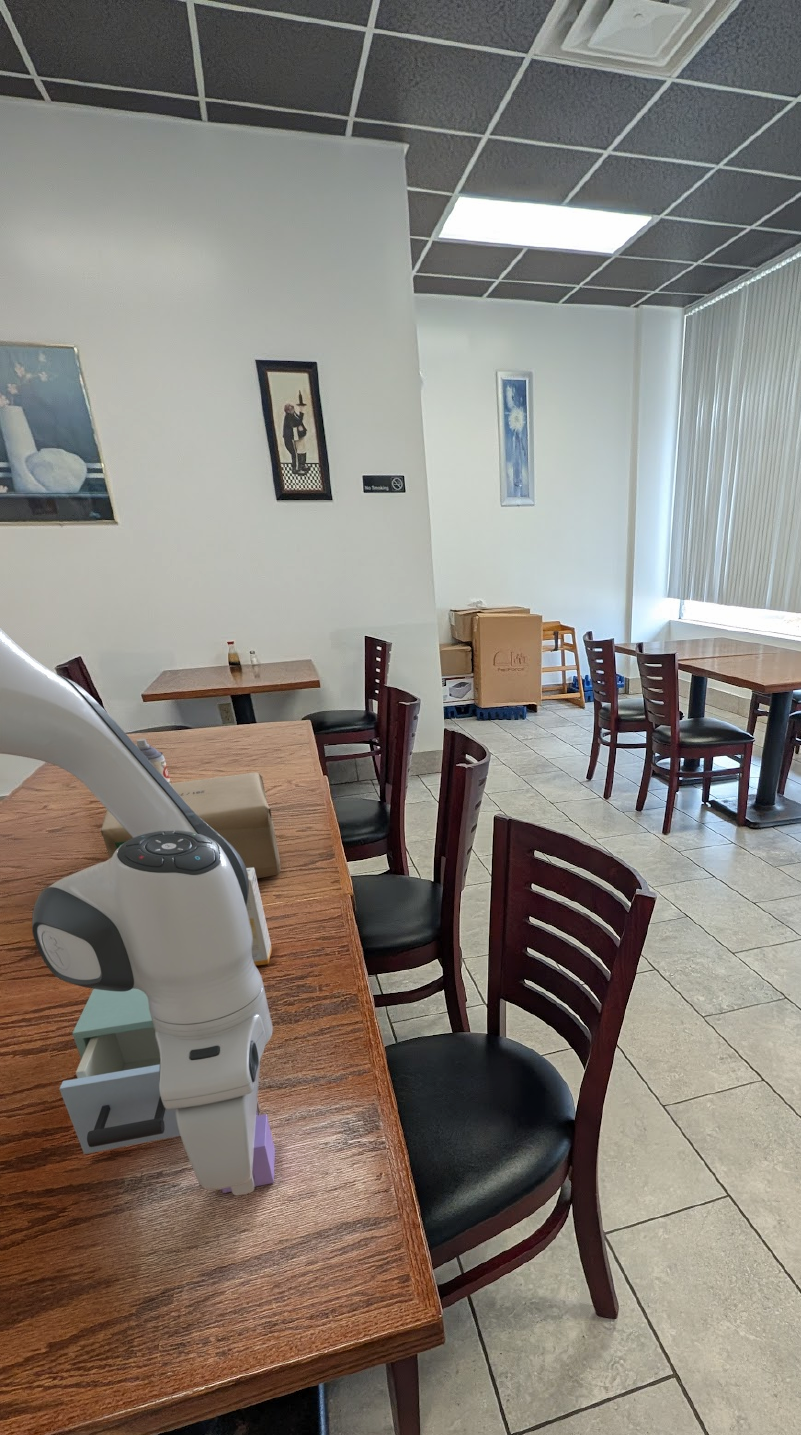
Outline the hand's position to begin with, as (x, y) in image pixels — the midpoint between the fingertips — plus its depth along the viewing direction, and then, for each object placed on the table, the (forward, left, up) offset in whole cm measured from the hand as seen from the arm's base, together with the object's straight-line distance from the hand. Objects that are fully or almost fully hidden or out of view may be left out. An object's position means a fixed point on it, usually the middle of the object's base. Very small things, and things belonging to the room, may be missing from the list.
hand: (247, 1150), depth 69 cm
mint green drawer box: (-10, +21, -2) cm, 23 cm away
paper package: (-13, +83, -3) cm, 84 cm away
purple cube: (0, 0, -2) cm, 2 cm away
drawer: (-10, +10, -1) cm, 14 cm away
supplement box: (-4, +43, -3) cm, 43 cm away
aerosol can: (-23, +105, -3) cm, 107 cm away
